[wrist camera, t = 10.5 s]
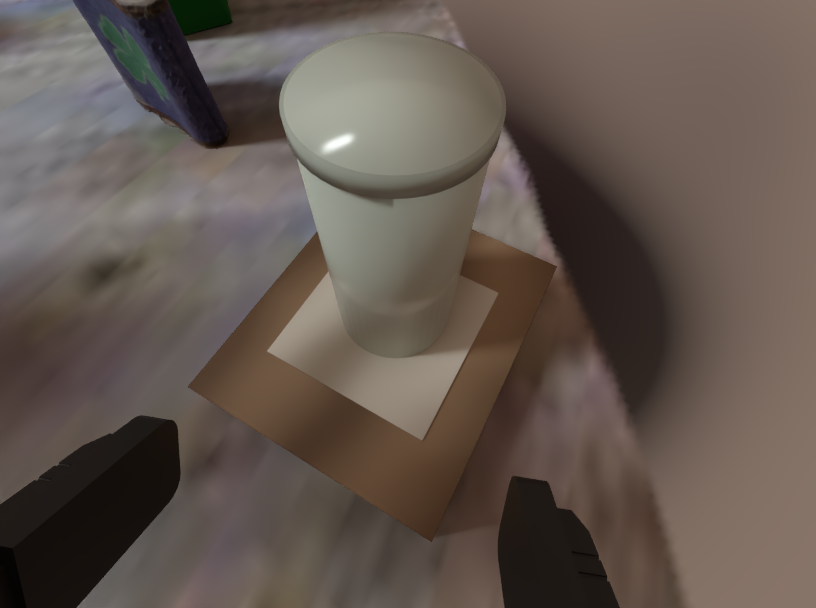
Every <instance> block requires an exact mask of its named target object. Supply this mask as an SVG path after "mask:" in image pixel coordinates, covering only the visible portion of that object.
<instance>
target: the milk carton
mask: <svg viewBox="0 0 816 608" xmlns="http://www.w3.org/2000/svg"><path fill="white" fill-rule="evenodd" d="M168 2H169V4H170V6H171V9H172V12H173V13H174V15H175V17H176V20H177V23H178V25H179V27H180V29H181V31H182V33H183V35H187V34H191V33H194V32H198V31H202V30H205V29H209V28H213V27H217V26H220V25H224V24H228V23H231V22H232V19H231V15H230V11H229V7H228V3H227V0H168Z"/></svg>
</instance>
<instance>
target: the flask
mask: <svg viewBox="0 0 816 608" xmlns="http://www.w3.org/2000/svg"><path fill="white" fill-rule="evenodd" d="M73 2H74V3H75V5H76V7H77V8H78V10H79V11H80V13H81V14H82V16H83V17H84V19H85V20H86V21H87V23H88V24H89V26H90V27H91V29H92V31H93V32H94V34H95V35H96V37H97V39H98V40H99V42H100V43H101V45H102V46H103V48H104V49H105V51H106V53H107V54H108V56H109V57H110V59H111V61H112V62H113V64H114V65H115V67H116V69H117V70H118V72H119V73H120V75H121V76H122V78H123V80H124V82H125V83H126V85H127V86H128V87H129V89H130V90H131V92H132V95H133V96H134V98H135V99H136V101H137V102H138V103H140V104H141V106H142V107H144V109H145V110H146V111H148V112H150V111H149V110H151V111H152V112H154V113H155V114H156V115H158V116H159V117H160V118H161V120H163V121H164V122H165V123H167V124H168V125H169V126H176V127H179V128H180V129H181V132H180V133H186V134H188V135H190V137H191V140H194V141H195V142H196V143H197V144H198V145H200V146H201V147H202V148H211V149H213V148H216V149H218V148H219V147H221V146H222V145H224V144H225V143H227V142H228V141H229V139H230V138H231V132H230V131H229V129H228V126H227V124H226V122H225V121H224V119H223V117H222V115H221V113H220V111H219V109H218V107H217V105H216V103H215V101H214V99H213V97H212V94H211V92H210V90H209V88H208V86H207V84H206V82H205V80H204V78H203V76H202V74H201V72H200V70H199V68H198V66H197V63H196V61H195V59H194V57H193V54H192V52H191V50H190V48H189V46H188V43H187V41H186V39H185V37H184V35H183V33H182V31H181V29H180V27H179V25H178V23H177V20H176V17H175V15H174V13H173V12H172V9H171V6H170V4H169V2H168V0H73Z"/></svg>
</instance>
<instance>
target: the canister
mask: <svg viewBox="0 0 816 608" xmlns="http://www.w3.org/2000/svg"><path fill="white" fill-rule="evenodd" d="M279 109H280V116H281V119H282V123H283V126H284V130H285V133H286V136H287V140H288V143H289V146H290V148H291V150H292V151H293V153H294V155H295V156H296V158H297V160H298V164H299V167H300V171H301V175H302V178H303V182H304V185H305V189H306V192H307V196H308V200H309V203H310V207H311V210H312V214H313V217H314V221H315V225H316V228H317V232H318V235H319V239H320V242H321V246H322V250H323V253H324V257H325V260H326V264H327V267H328V271H329V275H330V278H331V282H332V285H333V289H334V292H335V296H336V300H337V303H338V307H339V310H340V314H341V317H342V321H343V324H344V327H345V329H346V331H347V333H348V334H349V336H350V337H351V338H352V340H353V341H354V342H355V343H356V344H357V345H359V346H360V347H361V348H363V349H364V350H366V351H368V352H370V353H372V354H375V355H378V356H381V357H387V358H404V357H409V356H412V355H415V354H418V353H420V352H422V351H424V350H426V349H427V348H429V347H430V346H431V345H433V344H434V343H435V342H436V341H437V340H438V339H439V337H440V336H441V335H442V333H443V332H444V329H445V327H446V325H447V322H448V318H449V314H450V311H451V307H452V303H453V299H454V295H455V291H456V287H457V284H458V280H459V276H460V272H461V268H462V264H463V260H464V256H465V253H466V249H467V245H468V241H469V237H470V233H471V229H472V226H473V222H474V218H475V214H476V210H477V206H478V202H479V198H480V195H481V191H482V187H483V183H484V179H485V175H486V171H487V168H488V164H489V160H490V158H491V157H492V155H493V153H494V151H495V149H496V147H497V144H498V141H499V137H500V134H501V130H502V126H503V123H504V118H505V113H506V100H505V95H504V91H503V88H502V86H501V84H500V82H499V80H498V79H497V78H496V76H495V74H494V73H493V72H492V70H491V69H489V67H488V66H487V65H486V64H485V63H484V62H482V61H481V60H480V59H479V58H477V57H476V56H475V55H473V54H471V53H470V52H468V51H467V50H465V49H463V48H461V47H459V46H457V45H455V44H452V43H449V42H447V41H444V40H441V39H437V38H434V37H430V36H425V35H421V34H413V33H404V32H377V33H367V34H362V35H356V36H352V37H348V38H344V39H341V40H338V41H335V42H332V43H330V44H328V45H326V46H323V47H321V48H319V49H318V50H316V51H314V52H313V53H311V54H310V55H308V56H307V57H306V58H304V59H303V60H302V61H301V62H300V63H298V64H297V65H296V66H295V67H294V69H293V70H292V71H291V72H290V74H289V75H288V76H287V78H286V80H285V82H284V84H283V86H282V90H281V93H280V99H279Z"/></svg>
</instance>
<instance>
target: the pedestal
mask: <svg viewBox="0 0 816 608" xmlns="http://www.w3.org/2000/svg"><path fill="white" fill-rule="evenodd" d="M556 267H557V266H555V265H552V264H550V263H548V262H546V261H543V260H541V259H539V258H536V257H534V256H532V255H529V254H527V253H525V252H523V251H520V250H518V249H516V248H513V247H511V246H509V245H506V244H504V243H502V242H500V241H497V240H495V239H493V238H490V237H488V236H486V235H483V234H481V233H479V232H477V231H474V230H472V229H471V233H470V237H469V241H468V245H467V249H466V253H465V256H464V260H463V264H462V268H461V272H460V276H459V280H458V284H457V287H456V291H455V295H454V299H453V303H452V307H451V311H450V314H449V318H448V322H447V325H446V327H445V329H444V332H443V333H442V335H441V336H440V337H439V339H438V340H437V341H436V342H435V343H434V344H433V345H431V346H430V347H429V348H427V349H426V350H424V351H422V352H420V353H418V354H415V355H412V356H409V357H404V358H387V357H381V356H378V355H375V354H372V353H370V352H368V351H366V350H364V349H363V348H361V347H360V346H359V345H357V344H356V343H355V342H354V341H353V340H352V338H351V337H350V336H349V334H348V333H347V331H346V329H345V327H344V324H343V321H342V317H341V314H340V310H339V307H338V303H337V300H336V296H335V292H334V289H333V285H332V282H331V278H330V275H329V271H328V267H327V264H326V260H325V257H324V253H323V250H322V246H321V242H320V239H319V235H318V232H316V234H315V235H314V236H313V237H312V238H311V240H310V241H309V242H308V243H307V244H306V246H305V247H304V248H303V249H302V250H301V252H300V253H299V254H298V255H297V256H296V258H295V259H294V260H293V261H292V262H291V264H290V265H289V266H288V267H287V268H286V270H285V271H284V272H283V273H282V274H281V276H280V277H279V278H278V279H277V280H276V282H275V283H274V284H273V285H272V286H271V288H270V289H269V290H268V291H267V292H266V294H265V295H264V296H263V297H262V298H261V300H260V301H259V302H258V303H257V304H256V306H255V307H254V308H253V309H252V310H251V312H250V313H249V314H248V315H247V316H246V318H245V319H244V320H243V321H242V322H241V324H240V325H239V326H238V327H237V328H236V330H235V331H234V332H233V333H232V334H231V336H230V337H229V338H228V339H227V340H226V342H225V343H224V344H223V345H222V346H221V348H220V349H219V350H218V351H217V352H216V354H215V355H214V356H213V357H212V358H211V360H210V361H209V362H208V363H207V364H206V366H205V367H204V368H203V369H202V370H201V372H200V373H199V374H198V375H197V376H196V378H195V379H194V380H193V381H192V382H191V384H190V385H189V386H188V387H189V388H190V389H192V390H193V391H195V392H196V393H198V394H200V395H201V396H203V397H204V398H206V399H207V400H209V401H211V402H212V403H214V404H215V405H217V406H218V407H220V408H222V409H223V410H225V411H226V412H228V413H229V414H231V415H233V416H234V417H236V418H237V419H239V420H241V421H242V422H244V423H245V424H247V425H248V426H250V427H252V428H253V429H255V430H256V431H258V432H259V433H261V434H263V435H264V436H266V437H267V438H269V439H270V440H272V441H274V442H275V443H277V444H278V445H280V446H281V447H283V448H285V449H286V450H288V451H289V452H291V453H292V454H294V455H296V456H297V457H299V458H300V459H302V460H303V461H305V462H307V463H308V464H310V465H311V466H313V467H314V468H316V469H318V470H319V471H321V472H322V473H324V474H325V475H327V476H329V477H330V478H332V479H333V480H335V481H336V482H338V483H340V484H341V485H343V486H344V487H346V488H347V489H349V490H351V491H352V492H354V493H355V494H357V495H358V496H360V497H362V498H363V499H365V500H366V501H368V502H369V503H371V504H373V505H374V506H376V507H377V508H379V509H380V510H382V511H384V512H385V513H387V514H388V515H390V516H391V517H393V518H395V519H396V520H398V521H399V522H401V523H403V524H404V525H406V526H407V527H409V528H410V529H412V530H414V531H415V532H417V533H418V534H420V535H421V536H423V537H425V538H426V539H428V540H429V541H431V542H432V540H433V538H434V535H435V533H436V531H437V529H438V527H439V524H440V522H441V520H442V518H443V516H444V513H445V511H446V509H447V507H448V505H449V502H450V500H451V498H452V496H453V494H454V491H455V489H456V487H457V485H458V483H459V480H460V478H461V476H462V474H463V472H464V469H465V467H466V465H467V463H468V461H469V458H470V456H471V454H472V452H473V450H474V447H475V445H476V443H477V441H478V439H479V437H480V434H481V432H482V430H483V428H484V426H485V423H486V421H487V419H488V417H489V415H490V412H491V410H492V408H493V406H494V404H495V401H496V399H497V397H498V395H499V393H500V390H501V388H502V386H503V384H504V382H505V379H506V377H507V375H508V373H509V371H510V368H511V366H512V364H513V362H514V360H515V357H516V355H517V353H518V351H519V349H520V346H521V344H522V342H523V340H524V338H525V335H526V333H527V331H528V329H529V327H530V324H531V322H532V320H533V318H534V316H535V314H536V311H537V309H538V307H539V305H540V303H541V300H542V298H543V296H544V294H545V292H546V289H547V287H548V285H549V283H550V281H551V278H552V276H553V274H554V272H555V270H556Z"/></svg>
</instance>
